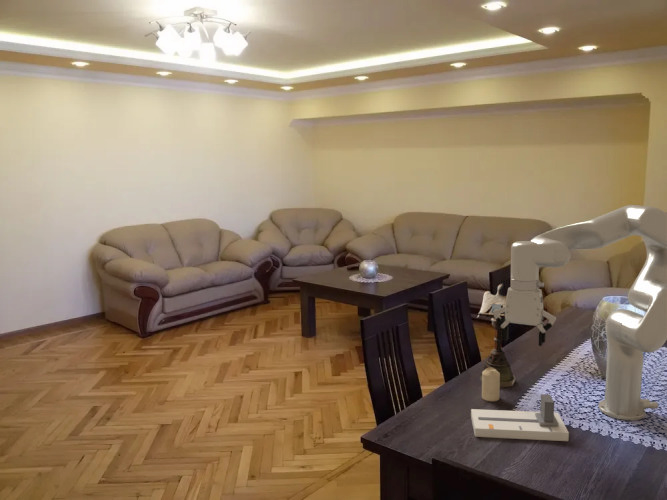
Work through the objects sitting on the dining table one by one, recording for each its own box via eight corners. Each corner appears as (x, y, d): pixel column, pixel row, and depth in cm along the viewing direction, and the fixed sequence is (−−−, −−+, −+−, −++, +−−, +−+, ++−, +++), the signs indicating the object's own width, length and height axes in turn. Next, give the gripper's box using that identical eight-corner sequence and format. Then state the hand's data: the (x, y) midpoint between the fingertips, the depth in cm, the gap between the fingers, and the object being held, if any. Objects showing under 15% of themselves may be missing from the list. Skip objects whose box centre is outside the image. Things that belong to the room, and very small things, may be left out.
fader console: (557, 420, 161) (557, 412, 161) (568, 441, 149) (568, 432, 149) (471, 416, 165) (471, 408, 164) (475, 436, 153) (475, 428, 153)
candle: (500, 402, 174) (500, 372, 172) (482, 401, 175) (482, 371, 174) (498, 394, 179) (499, 366, 178) (481, 393, 181) (481, 365, 179)
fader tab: (553, 416, 158) (554, 394, 157) (558, 426, 152) (559, 403, 151) (535, 415, 159) (536, 393, 158) (539, 425, 153) (540, 402, 152)
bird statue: (513, 396, 178) (516, 292, 172) (473, 388, 184) (474, 288, 179) (522, 377, 192) (525, 281, 187) (485, 371, 199) (487, 278, 193)
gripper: (558, 284, 153) (557, 342, 156) (496, 279, 162) (496, 334, 165) (554, 290, 147) (553, 350, 150) (490, 285, 155) (489, 342, 158)
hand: (523, 342), depth 157 cm, fingers open, 9 cm apart
